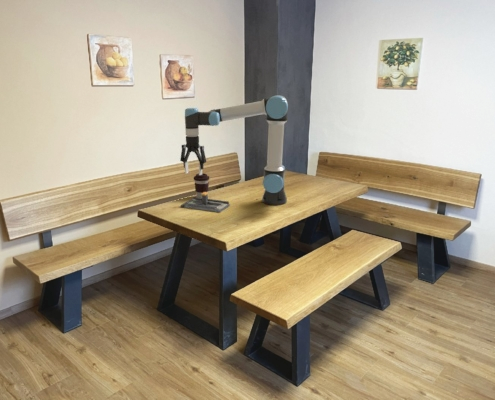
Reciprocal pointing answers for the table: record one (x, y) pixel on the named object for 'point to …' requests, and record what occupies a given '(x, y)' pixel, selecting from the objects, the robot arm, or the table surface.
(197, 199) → the long dark grey rail
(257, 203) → the table surface
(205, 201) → the lever
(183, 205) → the grey panel edge rail
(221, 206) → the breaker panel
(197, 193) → the coffee cup
